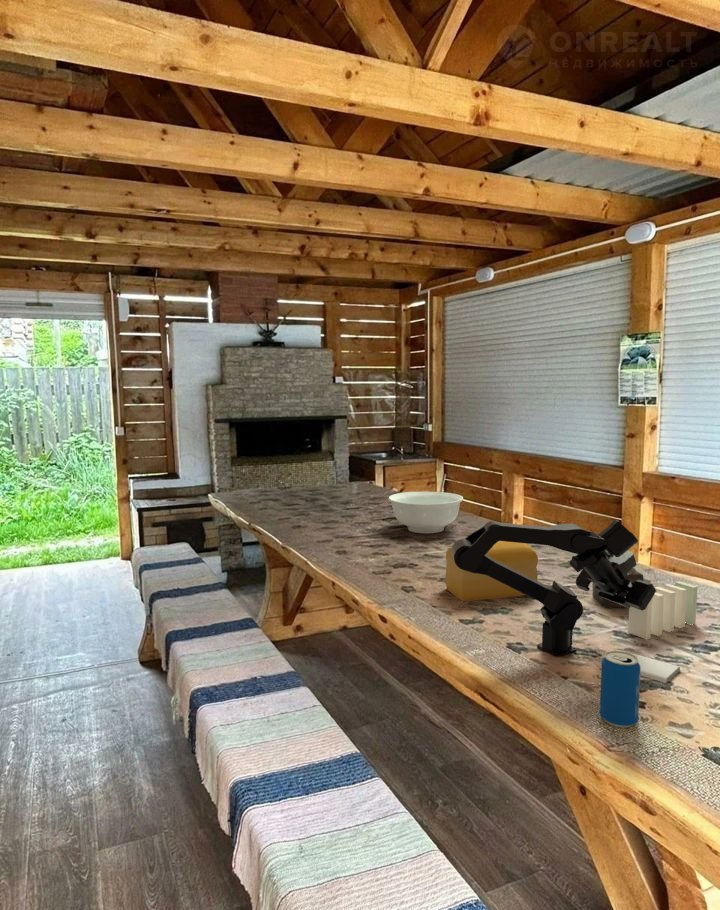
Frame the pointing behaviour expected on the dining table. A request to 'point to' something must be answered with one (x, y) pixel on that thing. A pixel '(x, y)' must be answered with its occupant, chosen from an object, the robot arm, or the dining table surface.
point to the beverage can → (620, 689)
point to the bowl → (425, 510)
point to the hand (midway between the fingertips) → (629, 606)
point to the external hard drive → (656, 669)
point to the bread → (486, 587)
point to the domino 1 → (640, 621)
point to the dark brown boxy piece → (609, 604)
